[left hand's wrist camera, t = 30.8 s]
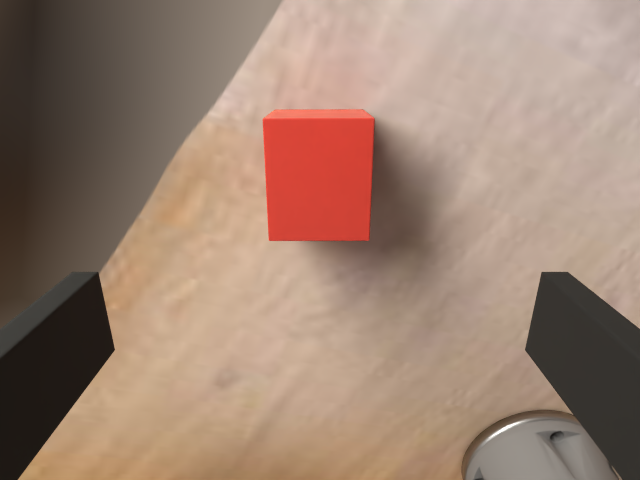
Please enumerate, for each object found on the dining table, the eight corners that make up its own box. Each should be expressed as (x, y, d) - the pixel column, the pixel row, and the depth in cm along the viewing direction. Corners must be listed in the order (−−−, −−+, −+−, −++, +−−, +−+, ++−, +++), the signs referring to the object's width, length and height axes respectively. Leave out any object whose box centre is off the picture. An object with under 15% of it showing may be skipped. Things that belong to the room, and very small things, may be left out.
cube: (360, 210, 36) (369, 241, 29) (278, 210, 36) (268, 241, 29) (363, 109, 33) (374, 117, 26) (274, 109, 33) (262, 118, 26)
